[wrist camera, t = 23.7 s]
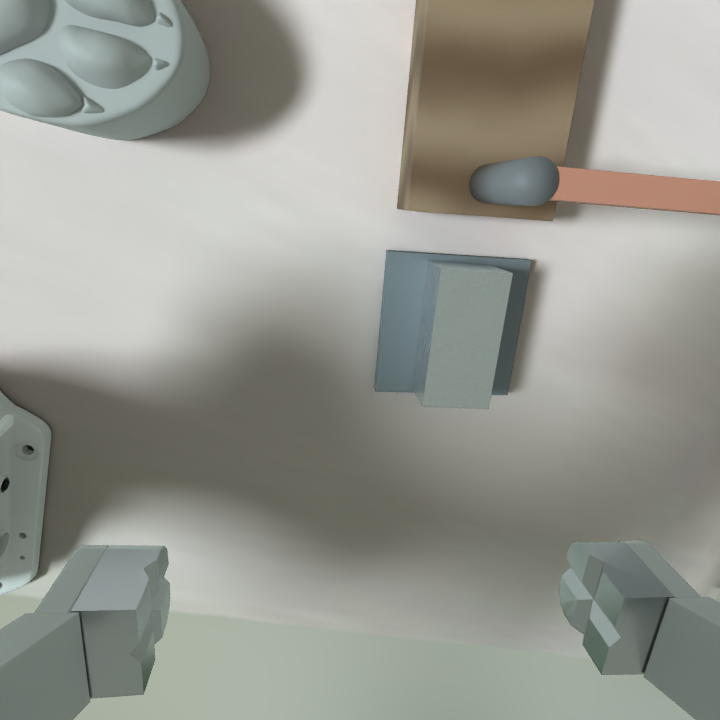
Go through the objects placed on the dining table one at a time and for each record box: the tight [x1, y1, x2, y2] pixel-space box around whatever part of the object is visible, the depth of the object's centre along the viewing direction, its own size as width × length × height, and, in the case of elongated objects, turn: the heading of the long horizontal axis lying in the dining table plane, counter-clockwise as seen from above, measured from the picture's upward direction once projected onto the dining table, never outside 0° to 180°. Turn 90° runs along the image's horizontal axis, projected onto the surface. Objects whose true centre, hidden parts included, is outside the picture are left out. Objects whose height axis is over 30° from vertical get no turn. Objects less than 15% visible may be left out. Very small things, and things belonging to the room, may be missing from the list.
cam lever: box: [469, 156, 720, 215], centre depth 29 cm, size 15×2×7 cm, turn 86°
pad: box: [374, 250, 531, 395], centre depth 39 cm, size 11×11×1 cm
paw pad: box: [0, 0, 210, 140], centre depth 27 cm, size 10×13×9 cm
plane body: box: [397, 0, 594, 221], centre depth 32 cm, size 17×10×4 cm, turn 176°
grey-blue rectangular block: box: [411, 260, 513, 409], centre depth 37 cm, size 10×5×4 cm, turn 175°
